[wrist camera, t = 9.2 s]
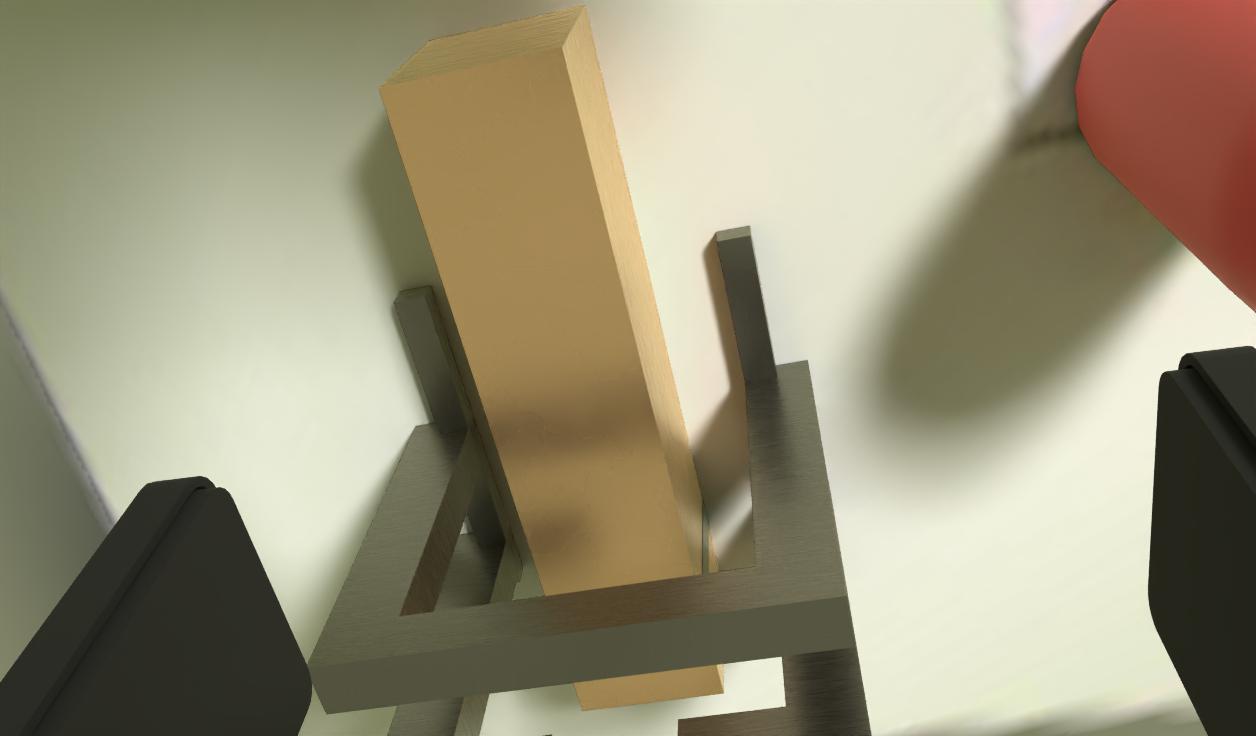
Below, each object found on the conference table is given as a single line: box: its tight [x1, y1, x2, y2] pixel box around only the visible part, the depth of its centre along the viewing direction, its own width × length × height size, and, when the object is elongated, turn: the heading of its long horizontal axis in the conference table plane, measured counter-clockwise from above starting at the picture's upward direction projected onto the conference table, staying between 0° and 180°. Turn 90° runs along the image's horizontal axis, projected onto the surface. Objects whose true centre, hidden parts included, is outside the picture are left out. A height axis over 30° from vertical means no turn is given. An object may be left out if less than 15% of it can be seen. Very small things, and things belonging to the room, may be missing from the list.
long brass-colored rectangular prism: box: [379, 5, 724, 711], centre depth 33 cm, size 20×4×6 cm, turn 13°
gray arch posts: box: [307, 226, 872, 736], centre depth 31 cm, size 11×13×12 cm
